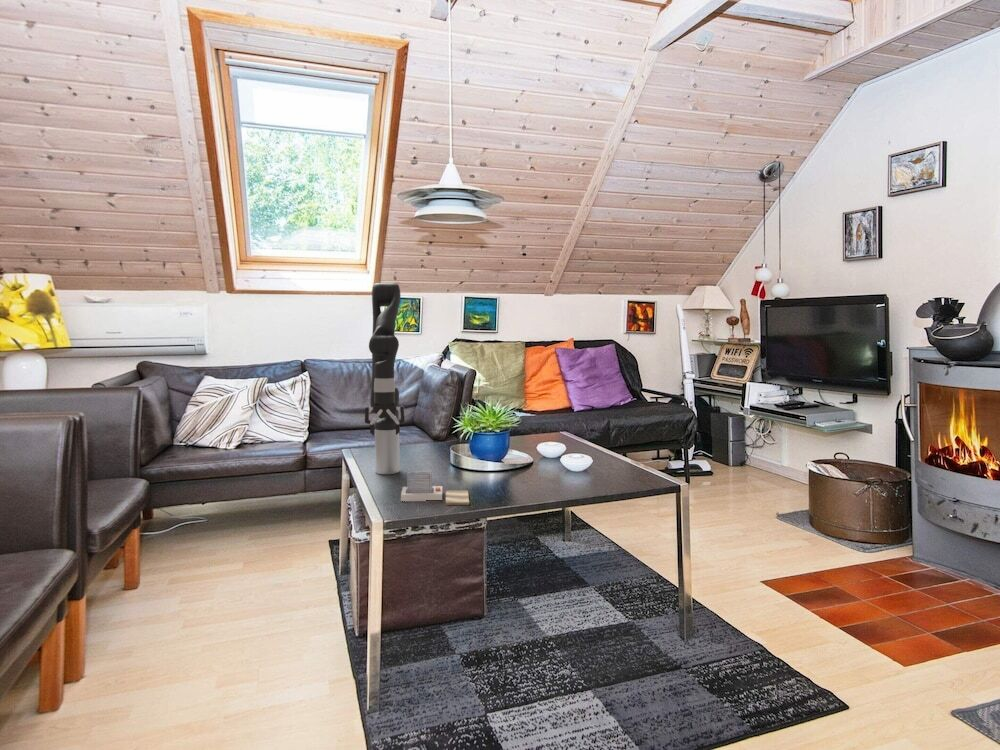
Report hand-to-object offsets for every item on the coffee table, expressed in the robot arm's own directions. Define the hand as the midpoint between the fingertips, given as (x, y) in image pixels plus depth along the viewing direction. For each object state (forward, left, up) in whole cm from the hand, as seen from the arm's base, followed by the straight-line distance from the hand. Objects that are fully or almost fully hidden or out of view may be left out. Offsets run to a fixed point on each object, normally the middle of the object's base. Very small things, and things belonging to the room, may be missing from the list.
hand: (385, 434), depth 236 cm
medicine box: (+21, +13, -18) cm, 30 cm away
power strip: (+17, +14, -18) cm, 28 cm away
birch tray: (+24, +26, -18) cm, 39 cm away
